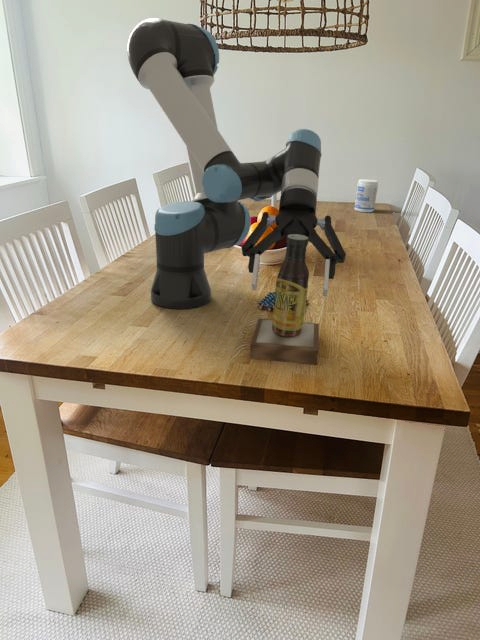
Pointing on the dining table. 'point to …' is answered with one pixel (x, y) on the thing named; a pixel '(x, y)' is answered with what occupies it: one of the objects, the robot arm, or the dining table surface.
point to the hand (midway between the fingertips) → (289, 290)
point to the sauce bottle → (291, 288)
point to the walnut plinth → (285, 344)
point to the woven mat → (269, 302)
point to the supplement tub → (366, 195)
